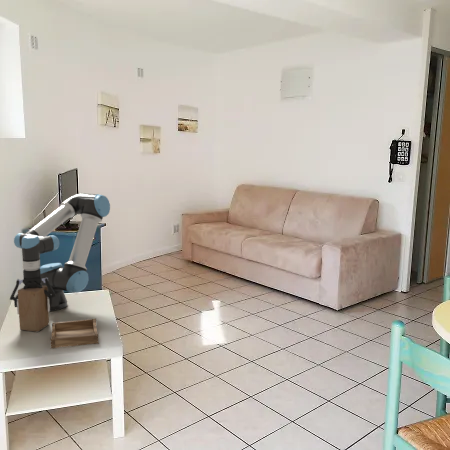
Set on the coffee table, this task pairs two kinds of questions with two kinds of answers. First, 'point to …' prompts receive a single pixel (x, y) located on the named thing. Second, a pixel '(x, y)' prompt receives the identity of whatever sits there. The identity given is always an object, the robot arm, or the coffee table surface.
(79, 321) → the crate
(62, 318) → the coffee table surface
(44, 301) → the wooden block
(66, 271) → the robot arm
